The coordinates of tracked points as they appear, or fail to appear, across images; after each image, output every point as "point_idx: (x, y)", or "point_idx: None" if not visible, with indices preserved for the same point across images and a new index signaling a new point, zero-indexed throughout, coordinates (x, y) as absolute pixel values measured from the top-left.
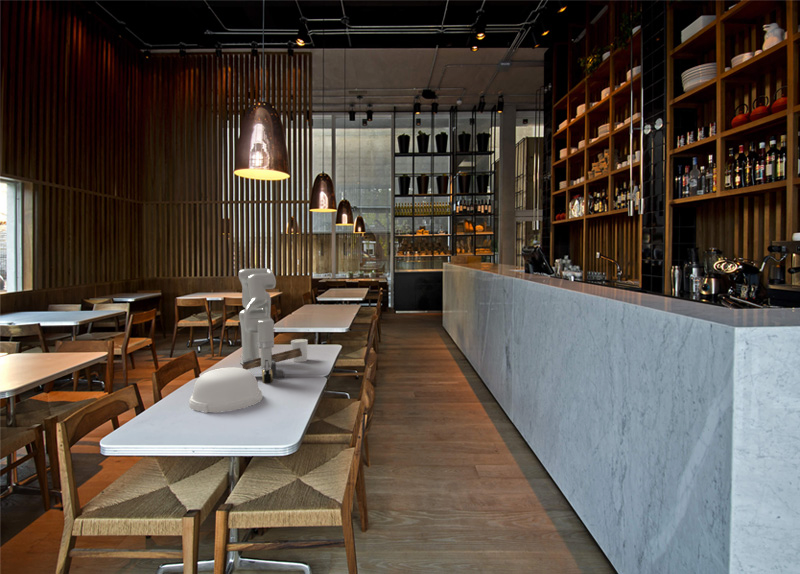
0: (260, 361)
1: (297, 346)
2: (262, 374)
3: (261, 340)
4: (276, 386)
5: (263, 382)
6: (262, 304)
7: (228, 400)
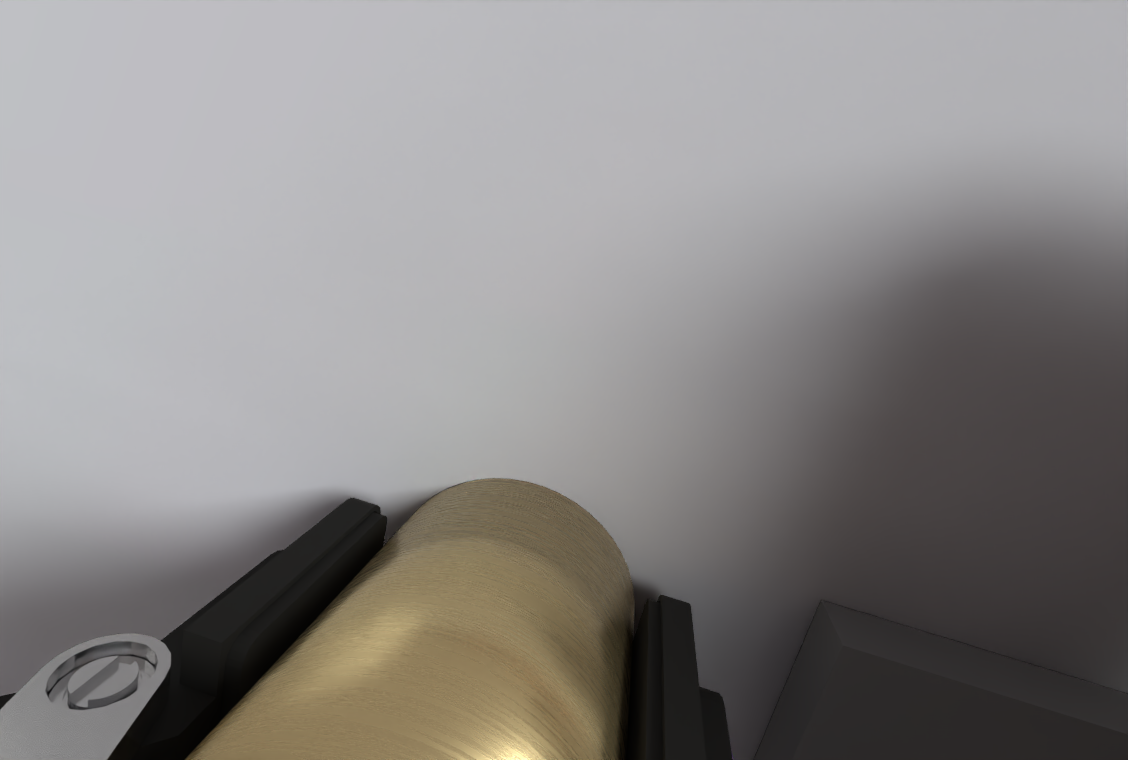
0: None
1: None
2: (380, 614)
3: None
4: (62, 604)
5: (452, 490)
6: None
7: None
